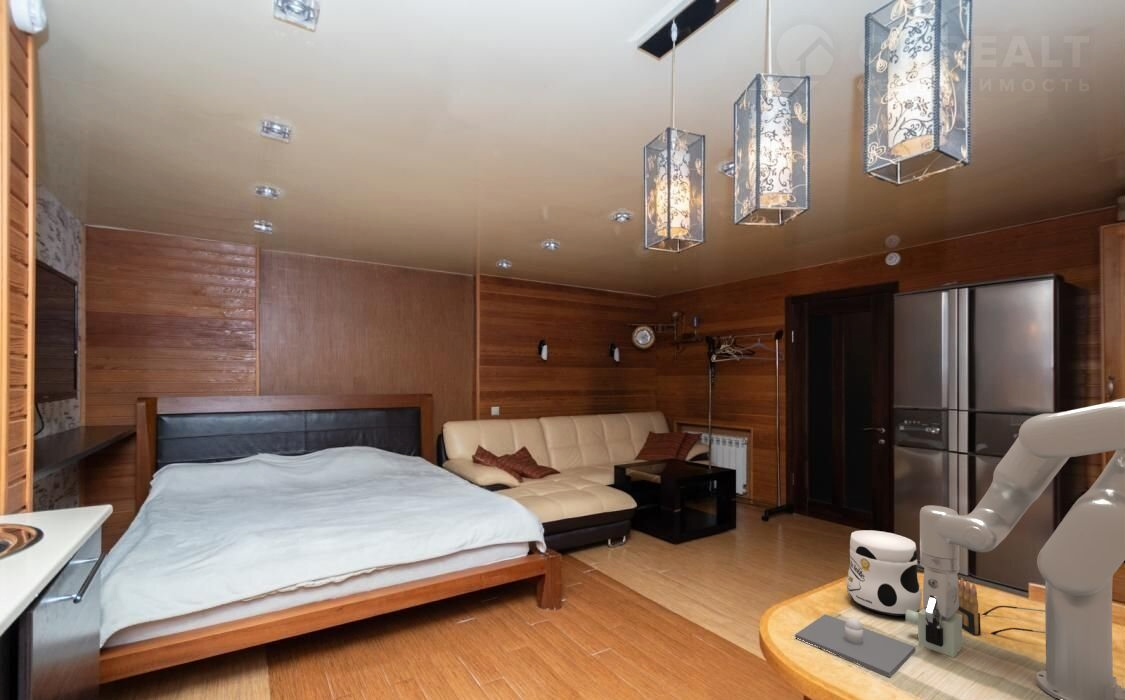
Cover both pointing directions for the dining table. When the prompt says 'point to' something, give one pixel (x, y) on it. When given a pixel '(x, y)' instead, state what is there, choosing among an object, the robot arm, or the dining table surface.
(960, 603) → the ammunition clip
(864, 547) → the milk container
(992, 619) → the dining table surface
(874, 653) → the board
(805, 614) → the dining table surface
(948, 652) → the block with round peg
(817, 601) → the dining table surface
